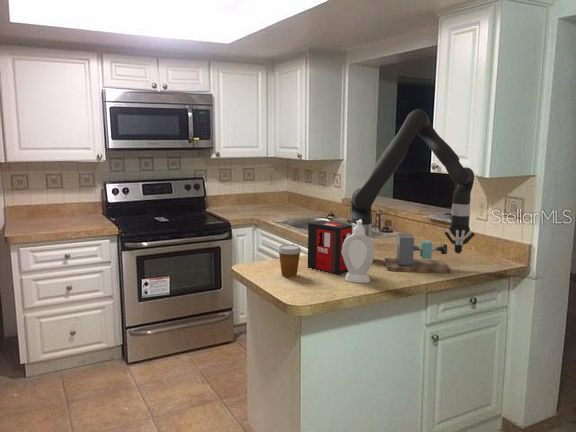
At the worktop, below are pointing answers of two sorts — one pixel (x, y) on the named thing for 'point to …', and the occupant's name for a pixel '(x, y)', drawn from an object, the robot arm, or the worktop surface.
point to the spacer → (426, 249)
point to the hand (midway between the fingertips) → (457, 253)
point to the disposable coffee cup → (289, 259)
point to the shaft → (434, 248)
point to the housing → (405, 249)
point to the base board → (418, 266)
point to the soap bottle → (358, 255)
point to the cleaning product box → (327, 246)
